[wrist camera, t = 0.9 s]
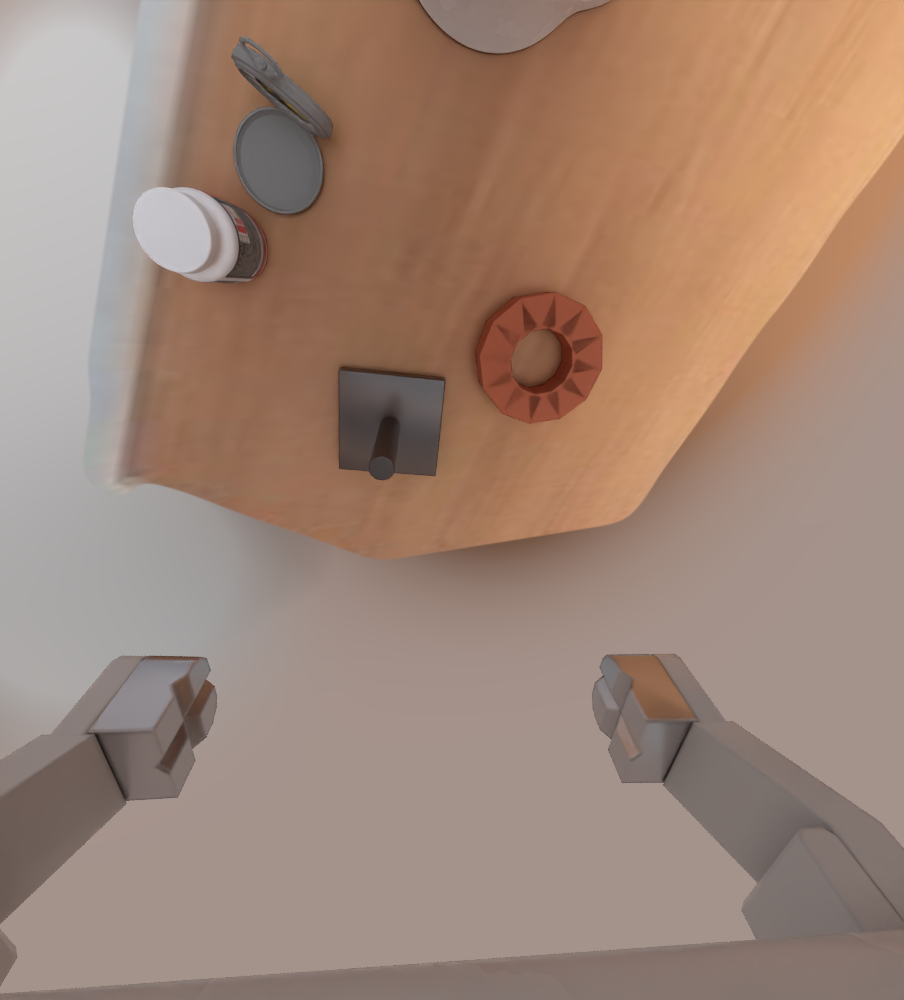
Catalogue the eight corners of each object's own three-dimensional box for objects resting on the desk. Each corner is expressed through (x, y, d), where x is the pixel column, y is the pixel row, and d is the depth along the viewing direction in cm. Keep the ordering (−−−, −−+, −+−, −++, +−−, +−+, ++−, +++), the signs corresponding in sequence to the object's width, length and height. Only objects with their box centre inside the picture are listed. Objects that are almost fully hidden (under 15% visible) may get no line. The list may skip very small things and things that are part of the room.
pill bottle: (240, 190, 34) (177, 156, 25) (283, 263, 37) (239, 255, 28) (182, 226, 35) (102, 205, 26) (228, 295, 37) (168, 297, 29)
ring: (505, 273, 38) (512, 272, 35) (610, 322, 41) (625, 324, 38) (459, 391, 43) (462, 398, 40) (556, 428, 45) (566, 437, 42)
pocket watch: (248, 215, 35) (190, 190, 26) (223, 78, 31) (144, -6, 22) (349, 215, 35) (326, 191, 26) (336, 81, 32) (303, -1, 23)
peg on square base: (341, 366, 41) (311, 396, 30) (444, 377, 42) (454, 410, 31) (341, 463, 45) (316, 521, 34) (435, 470, 46) (440, 529, 35)
